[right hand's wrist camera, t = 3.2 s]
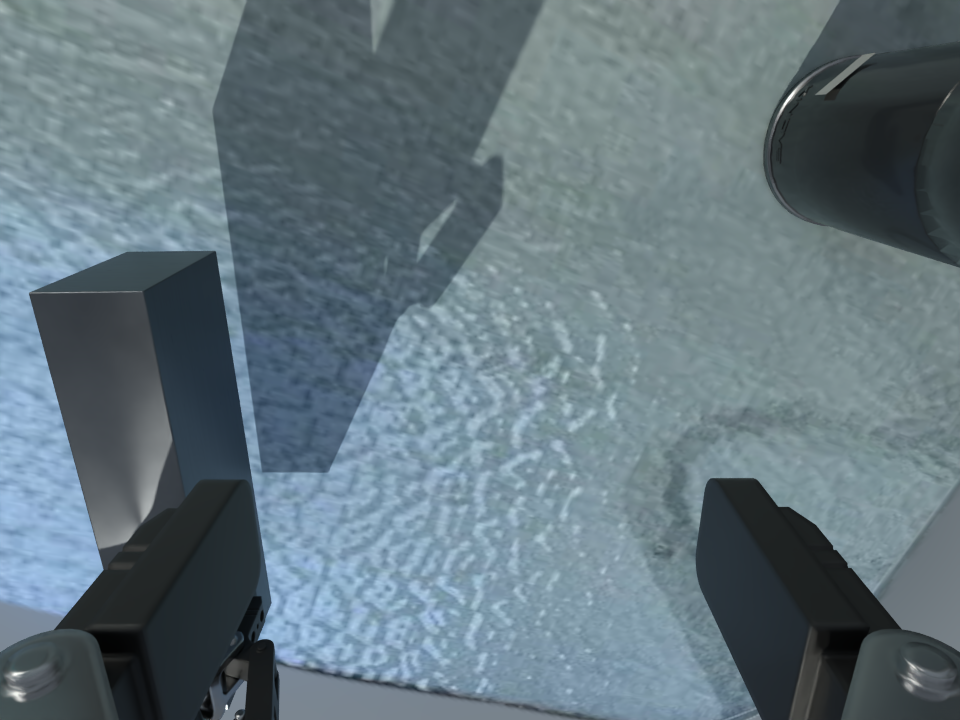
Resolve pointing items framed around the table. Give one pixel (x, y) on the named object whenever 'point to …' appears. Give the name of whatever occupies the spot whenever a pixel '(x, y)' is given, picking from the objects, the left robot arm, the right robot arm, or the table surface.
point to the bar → (145, 387)
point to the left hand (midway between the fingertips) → (206, 600)
